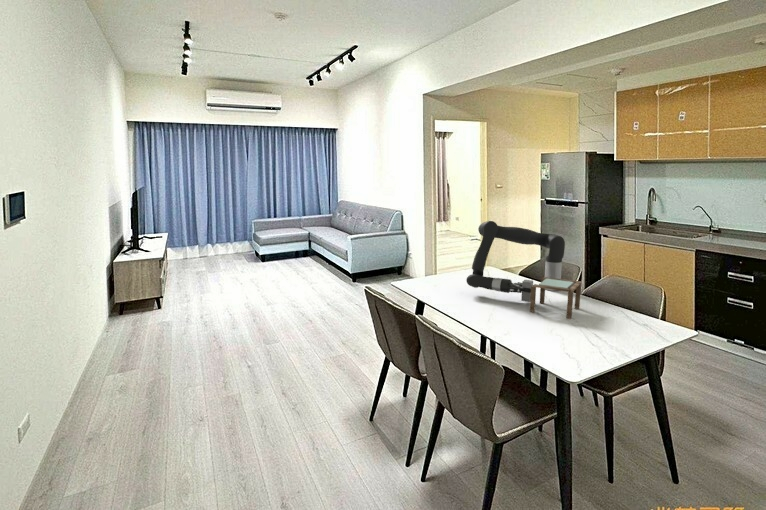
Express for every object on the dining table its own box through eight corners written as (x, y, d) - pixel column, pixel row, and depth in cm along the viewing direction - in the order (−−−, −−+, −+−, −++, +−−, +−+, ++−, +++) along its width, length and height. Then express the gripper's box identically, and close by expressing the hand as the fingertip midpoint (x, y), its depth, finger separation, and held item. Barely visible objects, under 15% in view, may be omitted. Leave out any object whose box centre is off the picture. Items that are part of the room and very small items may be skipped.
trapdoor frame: (540, 302, 253) (542, 276, 251) (579, 308, 242) (581, 281, 240) (529, 312, 237) (531, 284, 234) (570, 318, 226) (572, 290, 223)
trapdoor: (546, 280, 247) (546, 278, 247) (575, 284, 239) (575, 281, 238) (538, 286, 235) (538, 284, 235) (568, 290, 227) (568, 288, 227)
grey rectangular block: (523, 298, 255) (525, 279, 252) (532, 300, 252) (533, 280, 250) (521, 300, 251) (522, 281, 249) (529, 302, 249) (530, 282, 246)
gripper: (497, 281, 252) (528, 285, 242) (506, 275, 263) (536, 280, 254) (496, 294, 253) (528, 299, 244) (505, 288, 265) (536, 293, 255)
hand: (532, 289), depth 249 cm, fingers closed on grey rectangular block, 4 cm apart
